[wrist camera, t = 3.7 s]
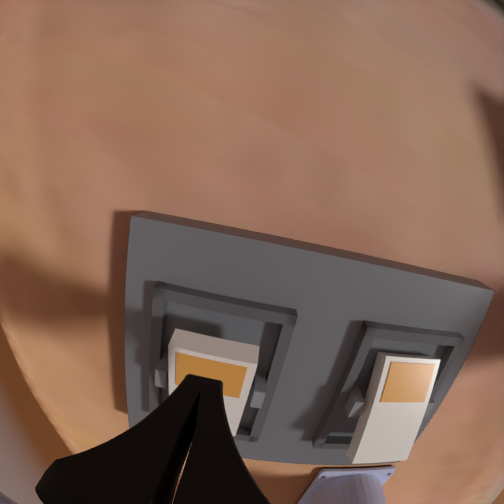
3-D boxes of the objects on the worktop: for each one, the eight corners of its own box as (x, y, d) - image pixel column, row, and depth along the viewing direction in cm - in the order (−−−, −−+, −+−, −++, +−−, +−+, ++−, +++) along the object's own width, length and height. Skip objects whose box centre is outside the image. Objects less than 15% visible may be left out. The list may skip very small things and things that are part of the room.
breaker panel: (393, 446, 21) (405, 476, 17) (137, 414, 20) (121, 447, 17) (478, 281, 17) (510, 301, 13) (145, 210, 16) (115, 221, 13)
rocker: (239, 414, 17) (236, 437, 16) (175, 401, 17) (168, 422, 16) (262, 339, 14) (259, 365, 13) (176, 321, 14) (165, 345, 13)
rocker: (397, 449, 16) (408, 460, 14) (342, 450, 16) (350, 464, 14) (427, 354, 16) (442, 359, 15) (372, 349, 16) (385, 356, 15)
